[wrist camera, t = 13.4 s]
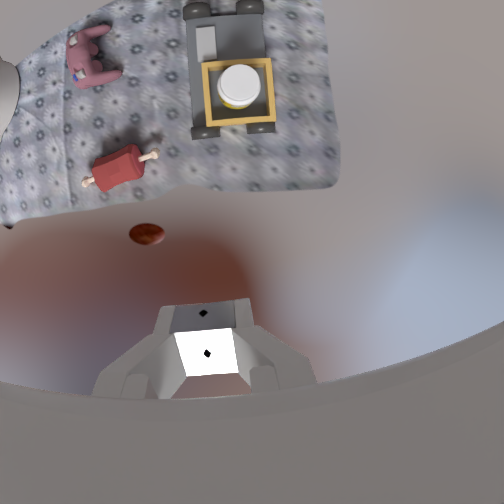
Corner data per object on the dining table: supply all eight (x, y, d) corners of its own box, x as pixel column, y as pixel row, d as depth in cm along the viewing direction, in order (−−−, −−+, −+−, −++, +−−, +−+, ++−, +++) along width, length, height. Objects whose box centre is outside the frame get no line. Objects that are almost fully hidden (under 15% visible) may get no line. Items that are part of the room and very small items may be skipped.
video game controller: (93, 38, 29) (57, 39, 23) (112, 22, 27) (75, 19, 21) (106, 90, 33) (68, 96, 27) (126, 76, 31) (87, 78, 25)
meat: (155, 130, 34) (150, 140, 30) (167, 161, 37) (164, 175, 33) (81, 162, 34) (69, 176, 30) (95, 189, 37) (85, 206, 34)
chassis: (193, 139, 36) (190, 140, 32) (184, 14, 28) (181, 4, 25) (273, 132, 36) (277, 132, 33) (261, 8, 29) (264, -2, 25)
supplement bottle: (216, 78, 32) (214, 62, 24) (253, 74, 32) (260, 58, 24) (220, 112, 34) (219, 105, 26) (257, 108, 34) (266, 100, 26)
